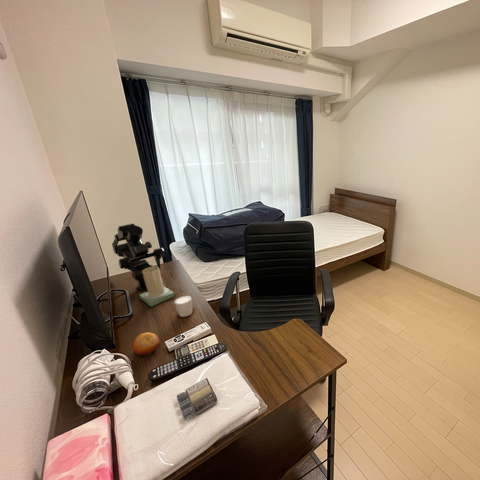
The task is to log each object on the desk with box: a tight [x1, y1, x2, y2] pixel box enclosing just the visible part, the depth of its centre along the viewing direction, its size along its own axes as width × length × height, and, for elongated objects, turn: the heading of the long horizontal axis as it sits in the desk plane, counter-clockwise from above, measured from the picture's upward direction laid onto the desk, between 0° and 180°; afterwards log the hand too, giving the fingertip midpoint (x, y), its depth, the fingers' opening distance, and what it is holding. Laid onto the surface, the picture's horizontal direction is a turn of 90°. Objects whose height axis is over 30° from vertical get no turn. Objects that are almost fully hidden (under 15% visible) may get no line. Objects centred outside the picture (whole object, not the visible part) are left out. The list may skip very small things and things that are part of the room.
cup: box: [142, 266, 165, 297], centre depth 123 cm, size 7×7×13 cm
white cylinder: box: [174, 295, 194, 318], centre depth 114 cm, size 7×7×7 cm
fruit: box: [131, 331, 160, 356], centre depth 93 cm, size 8×8×8 cm
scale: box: [139, 285, 175, 308], centre depth 126 cm, size 12×11×3 cm
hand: (149, 272), depth 123 cm, fingers open, 9 cm apart
